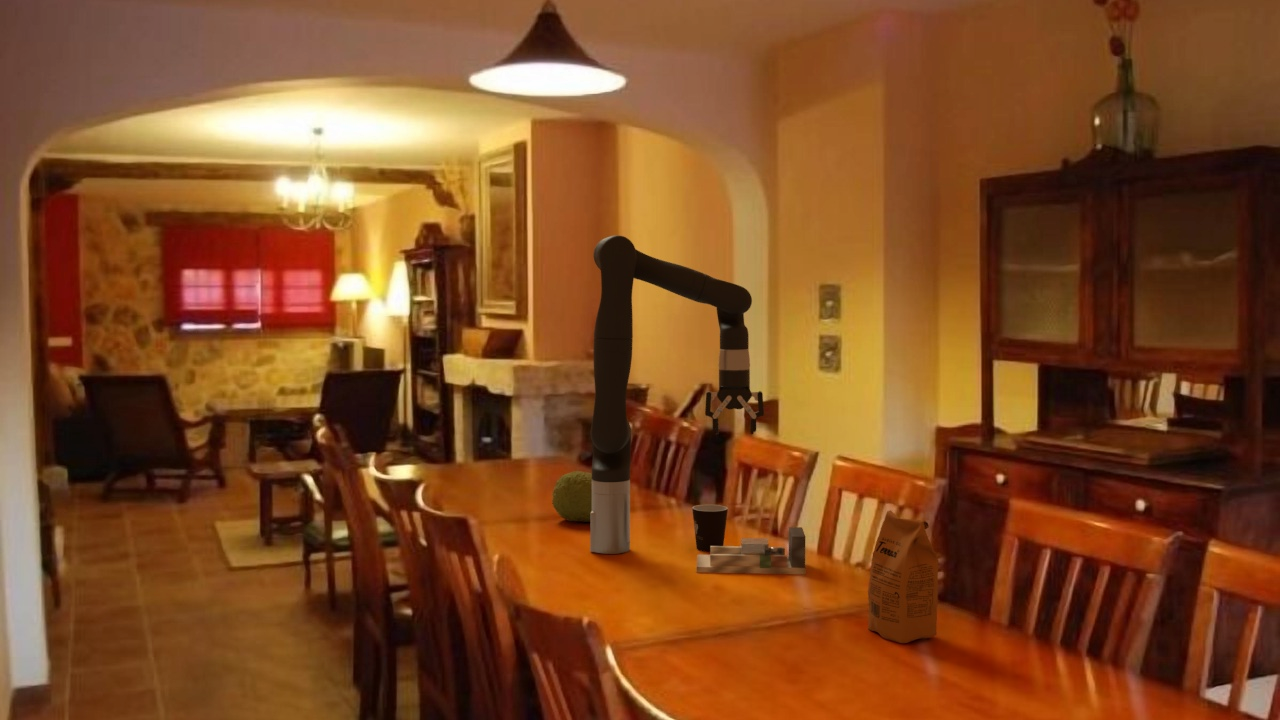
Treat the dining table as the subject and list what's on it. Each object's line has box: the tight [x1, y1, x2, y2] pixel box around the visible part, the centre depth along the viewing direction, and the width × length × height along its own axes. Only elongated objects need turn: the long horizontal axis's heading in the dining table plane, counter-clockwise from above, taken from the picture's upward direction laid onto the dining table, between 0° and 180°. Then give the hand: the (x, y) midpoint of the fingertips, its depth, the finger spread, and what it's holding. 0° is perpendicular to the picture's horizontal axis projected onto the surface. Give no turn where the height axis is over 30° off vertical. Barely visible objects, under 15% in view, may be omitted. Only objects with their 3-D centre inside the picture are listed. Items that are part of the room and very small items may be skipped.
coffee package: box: [867, 510, 939, 644], centre depth 208 cm, size 10×12×22 cm
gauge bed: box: [696, 526, 806, 575], centre depth 259 cm, size 24×12×8 cm, turn 86°
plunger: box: [740, 537, 782, 555], centre depth 257 cm, size 9×9×4 cm
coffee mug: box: [691, 504, 729, 553], centre depth 278 cm, size 12×9×10 cm
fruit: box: [551, 470, 592, 523], centre depth 309 cm, size 16×14×15 cm
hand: (734, 433), depth 280 cm, fingers open, 8 cm apart
